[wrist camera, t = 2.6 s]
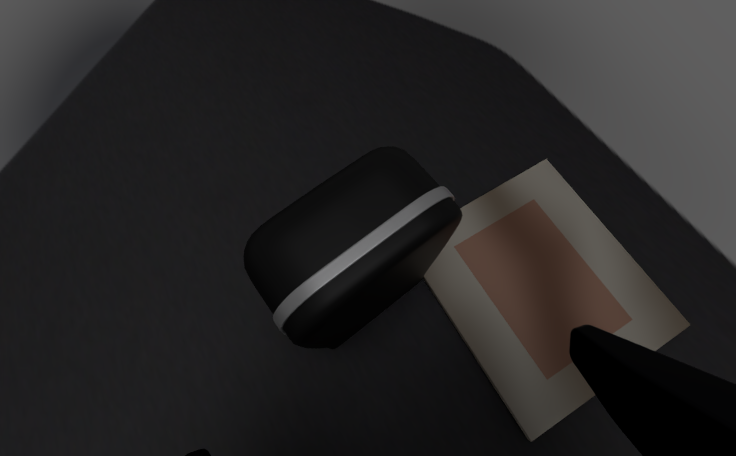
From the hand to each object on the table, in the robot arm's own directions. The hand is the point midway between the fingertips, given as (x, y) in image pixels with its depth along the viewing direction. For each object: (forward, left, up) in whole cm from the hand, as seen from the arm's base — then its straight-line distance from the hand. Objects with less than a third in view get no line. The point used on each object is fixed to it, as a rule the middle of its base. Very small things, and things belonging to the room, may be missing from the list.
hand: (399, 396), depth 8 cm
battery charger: (+1, +5, -12) cm, 13 cm away
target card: (+10, 0, -11) cm, 15 cm away
